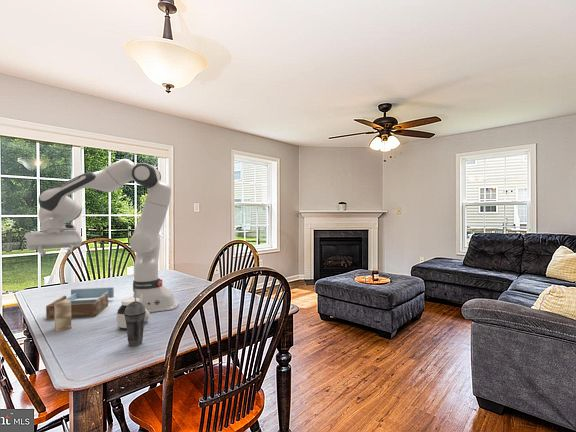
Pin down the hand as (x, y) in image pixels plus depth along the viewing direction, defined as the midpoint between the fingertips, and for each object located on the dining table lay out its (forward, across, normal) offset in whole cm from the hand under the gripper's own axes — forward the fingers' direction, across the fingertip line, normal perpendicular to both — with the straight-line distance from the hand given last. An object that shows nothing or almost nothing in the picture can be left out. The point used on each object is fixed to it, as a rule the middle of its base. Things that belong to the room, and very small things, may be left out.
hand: (57, 254), depth 141 cm
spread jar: (+42, +22, 0) cm, 47 cm away
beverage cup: (+56, +16, -14) cm, 60 cm away
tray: (+8, +15, +31) cm, 35 cm away
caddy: (+15, +10, +26) cm, 32 cm away
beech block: (+30, 0, +12) cm, 32 cm away
